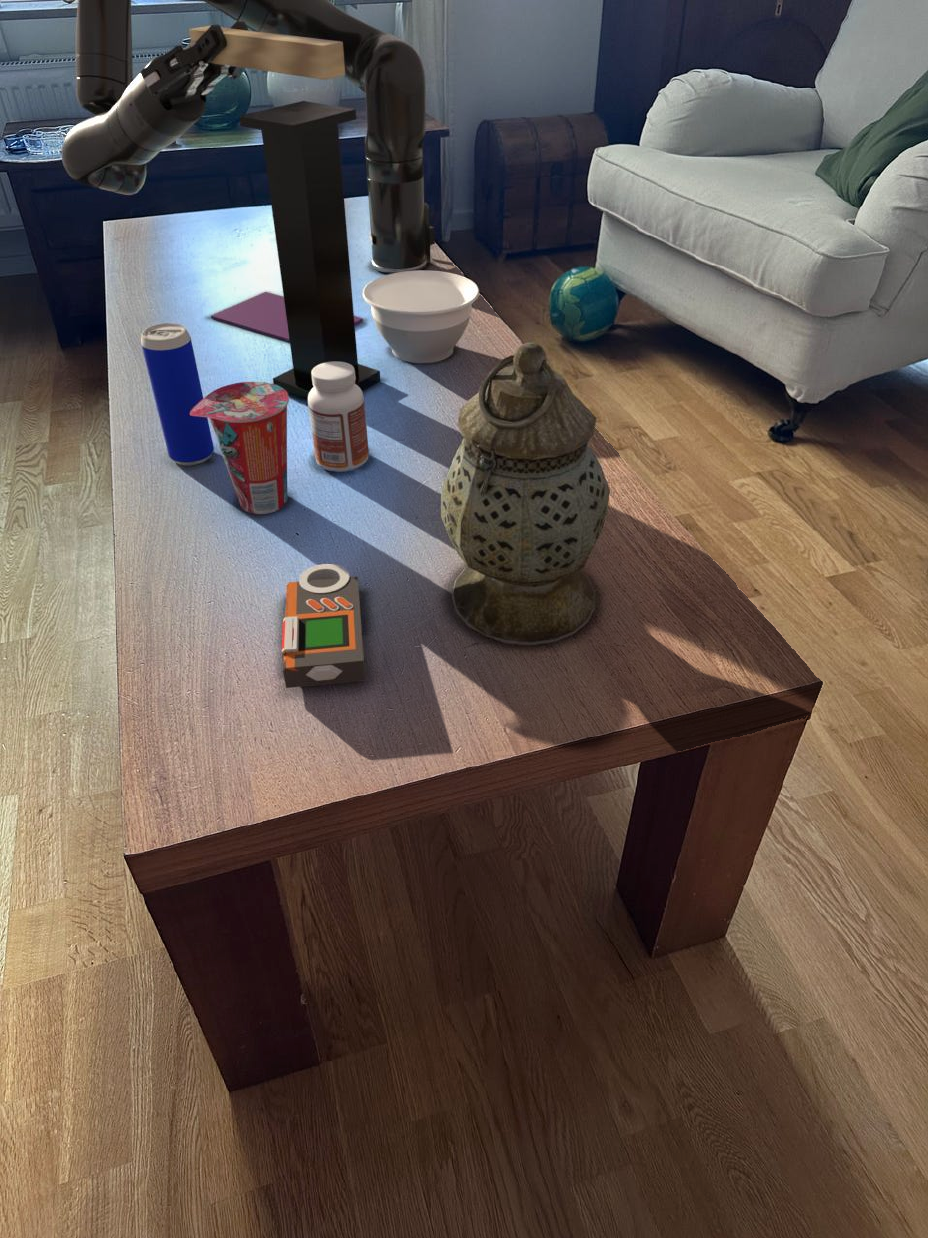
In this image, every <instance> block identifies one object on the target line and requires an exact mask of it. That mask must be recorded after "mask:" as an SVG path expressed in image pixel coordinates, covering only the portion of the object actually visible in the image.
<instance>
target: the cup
mask: <svg viewBox="0 0 928 1238" xmlns="http://www.w3.org/2000/svg"><path fill="white" fill-rule="evenodd" d="M289 402H290V397H289V394H288V393H287V392H286V390H284V389H283V388H282V387H280V386H278V385H275V384H273V383H272V382H266V381H241V382H236V383H235V382H234V383H230V384H226V385H224V386H221V387H218V388H216V389H214V390H213V391H211V392H210V393H209V394H207V395H205V396H204V397H203V399H202V400H201V401H200V402H199V403H198V404H197V405H196V406H195V407H193V408H192V410H191V411H190V415H191V416H199V417H207V418H208V419H209V421H210V424H211V427H212V429H213V432H214V435H215V438H216V441H217V443H218V446H219V448H220V452H221V455H222V457H223V461H224V463H225V465H226V468H227V471H228V474H229V477H230V480H231V483H232V486H233V489H234V492H235V494H236V498H237V499H238V503H239V505H240V507H241V509H242V510H243V511H244V512H247V513H248V514H254V515H268V514H272V513H274V512H275V513H276V512H277V511H279V510H281V509H283V508H284V507H285V506H286V504H287V502H288V405H289Z"/></svg>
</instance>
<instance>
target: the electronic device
mask: <svg viewBox="0 0 928 1238" xmlns="http://www.w3.org/2000/svg"><path fill="white" fill-rule="evenodd" d="M359 583H360V582H359V576H350V573H349V571H348V569H346V568H344V567H343V566H341V565H338V564H333V563H322V564H318V565H317V564H316V565H313V566H310V567H309V568H307V569H305V570H304V571H302V573H301V574H300V575H299V577H298V580H297V581H289V582H288V583H287V584H286V592H285V593H286V595H285V615H284V618H283V620H282V635H281V636H282V637H281V638H282V639H281V656H282V657H281V658H282V661H283V665H282V671H283V672H282V673H283V678H284V684H285V688H286V689H290V688H300V687H311V686H322V685H332V684H342V683H352V682H362V681H363V682H364V681H366V679H367V678H366V667H365V652H364V651H365V649H364V638H363V635H364V634H363V623H362V607H361V595H360V586H359Z"/></svg>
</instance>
